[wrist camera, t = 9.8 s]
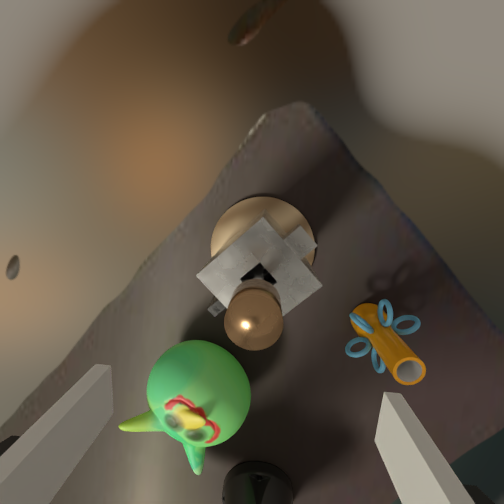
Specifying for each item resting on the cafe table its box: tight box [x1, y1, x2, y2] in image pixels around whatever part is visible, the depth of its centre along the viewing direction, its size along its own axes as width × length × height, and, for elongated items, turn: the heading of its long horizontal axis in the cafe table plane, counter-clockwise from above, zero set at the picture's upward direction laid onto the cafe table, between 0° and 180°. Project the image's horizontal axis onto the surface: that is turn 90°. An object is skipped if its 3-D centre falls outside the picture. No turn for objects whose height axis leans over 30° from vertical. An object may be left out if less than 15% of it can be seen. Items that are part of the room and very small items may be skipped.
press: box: [196, 209, 322, 317], centre depth 38 cm, size 10×16×17 cm, turn 131°
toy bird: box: [119, 340, 251, 475], centre depth 45 cm, size 18×17×15 cm
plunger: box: [224, 262, 283, 350], centre depth 29 cm, size 7×7×20 cm
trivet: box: [211, 197, 315, 266], centre depth 46 cm, size 18×18×1 cm
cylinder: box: [345, 299, 426, 385], centre depth 41 cm, size 12×10×15 cm
